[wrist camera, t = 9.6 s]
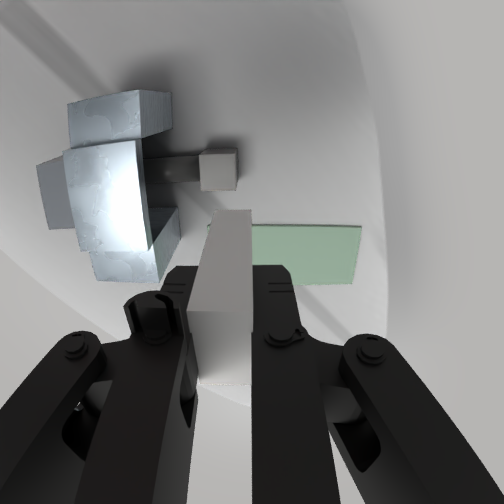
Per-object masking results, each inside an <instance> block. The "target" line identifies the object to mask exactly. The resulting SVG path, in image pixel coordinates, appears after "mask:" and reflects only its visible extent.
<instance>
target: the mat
mask: <svg viewBox="0 0 504 504" xmlns="http://www.w3.org/2000/svg"><path fill="white" fill-rule="evenodd" d="M207 228H208V232H209V228H210V225H208V226H207ZM361 229H362V228H361V226H317V225H252V265H283V266H284V267H285V268H286V269H287V270H288V271H289V272H290V274H291V279H292V284H293V285H331V284H352V281H353V276H354V270H355V265H356V259H357V254H358V248H359V242H360V235H361Z"/></svg>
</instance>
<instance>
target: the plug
mask: <svg viewBox="0 0 504 504" xmlns="http://www.w3.org/2000/svg"><path fill="white" fill-rule="evenodd" d="M143 167H144V178H145V184H154V183H169V182H189V181H200V182H201V191H232V190H236V187H237V182H238V168H237V148H224V149H205V150H204V151H203V152H202V153H201V154H199V155H197V156H180V157H166V158H154V159H143ZM36 168H37V174H38V180H39V186H40V191H41V196H42V201H43V206H44V210H45V215H46V219H47V223H48V227H49V230H51V229H68V228H75V225H74V220H73V215H72V210H71V205H70V200H69V194H68V188H67V182H66V175H65V168H64V161H63V155H62V156H59V157H57V158H54V159H52V160H49V161H47V162H44V163H42V164H39V165H37V166H36Z"/></svg>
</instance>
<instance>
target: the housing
mask: <svg viewBox="0 0 504 504" xmlns="http://www.w3.org/2000/svg"><path fill="white" fill-rule="evenodd" d="M67 105H68V123H69V135H70V146H71V149H68V150H65V151H62V153H63V161H64V168H65V175H66V182H67V188H68V194H69V200H70V205H71V210H72V215H73V220H74V225H75V229H76V234H77V238H78V242H79V246H80V250H81V251H89V254H90V258H91V262H92V265H93V269H94V273H95V276H96V280H97V281H112V282H140V283H160V281H161V279H162V276H163V274H164V272H165V270H166V268H167V266H168V264H169V262H170V260H171V258H172V256H173V253H174V251H175V249H176V247H177V245H178V243H179V241H180V239H181V235H180V225H179V215H178V207H165V208H148V205H147V197H146V187H145V178H144V167H143V155H142V142H141V138H144V137H147V136H150V135H153V134H156V133H159V132H163V131H166V130H169V129H172V128H173V127H172V96H171V93H166V92H158V91H150V90H140V89H138V90H132V91H126V92H120V93H115V94H110V95H105V96H100V97H95V98H91V99H86V100H82V101H78V102H74V103H70V104H67Z"/></svg>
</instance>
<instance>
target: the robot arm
mask: <svg viewBox="0 0 504 504" xmlns="http://www.w3.org/2000/svg"><path fill="white" fill-rule="evenodd" d="M123 307H124V311H125V314H126V317H127V321H128V324H129V327H130V330H131V333H132V334H131V336H130V338H129V339H126V340H122V341H117V342H111V343H105V344H101V343H100V341H99V339H98V337H97V336H96V335H95V334H93V333H91V332H88V331H78V332H73V333H70V334H68V335H66V336H64V337H63V338H62V339H61V340H60V341H58V342H57V344H56V345H55V346H54V347H53V348H52V349H51V350H50V351H49V352H48V353H47V355H46V356H45V357H44V358H43V359H42V360H41V361H40V362H39V364H38V365H37V366H36V367H35V368H34V369H33V370H32V372H31V373H30V374H29V375H28V376H27V377H26V379H25V380H24V381H23V382H22V384H21V385H20V386H19V387H18V388H17V389H16V391H15V392H14V393H13V394H12V396H11V397H10V398H9V399H8V400H7V402H6V403H5V404H4V405H3V407H2V408H1V409H0V504H186V502H187V492H188V482H189V473H190V463H191V455H192V446H193V437H194V429H195V421H196V413H197V405H198V395H197V390H196V384H197V378H199V382H200V384H207V385H251V405H252V504H341V503H340V495H339V489H338V483H337V477H336V471H335V465H334V459H333V453H332V447H331V442H330V436H329V432H330V434H331V436H332V438H333V440H334V442H335V444H336V446H337V448H338V450H339V452H340V454H341V456H342V458H343V460H344V462H345V464H346V466H347V468H348V470H349V472H350V474H351V476H352V478H353V480H354V482H355V484H356V486H357V488H358V490H359V492H360V494H361V496H362V498H363V500H364V502H365V504H504V495H503V494H502V492H501V491H500V489H499V487H498V486H497V484H496V483H495V481H494V480H493V478H492V477H491V475H490V474H489V472H488V471H487V469H486V468H485V466H484V465H483V463H482V462H481V460H480V459H479V458H478V456H477V455H476V453H475V452H474V450H473V449H472V448H471V446H470V445H469V443H468V442H467V441H466V439H465V438H464V436H463V435H462V434H461V432H460V431H459V429H458V428H457V427H456V425H455V424H454V423H453V421H452V420H451V419H450V417H449V416H448V414H447V413H446V412H445V411H444V409H443V408H442V406H441V405H440V404H439V402H438V401H437V400H436V399H435V397H434V396H433V395H432V393H431V392H430V391H429V389H428V388H427V387H426V385H425V384H424V383H423V382H422V380H421V379H420V378H419V377H418V375H417V374H416V373H415V371H414V370H413V369H412V368H411V367H410V365H409V364H408V363H407V361H406V360H405V359H404V358H403V357H402V355H401V354H400V353H399V351H398V350H397V349H396V348H395V346H394V345H392V344H391V343H390V342H389V341H388V340H387V339H385V338H382V337H380V336H378V335H373V334H360V335H356V336H354V337H352V338H350V339H349V340H348V341H347V342H346V343H345V344H344V346H340V345H334V344H329V343H325V342H321V341H319V340H316V339H314V338H312V337H311V336H310V335H309V334H308V332H307V330H306V329H305V328H304V327H303V326H302V325H301V321H300V316H299V312H298V307H297V302H296V297H295V293H294V288H293V284H292V279H291V274H290V272H289V271H288V270H287V269H286V268H285V267H284V266H283V265H252V219H251V210H215V212H214V215H213V218H212V222H211V225H210V228H209V232H208V235H207V239H206V242H205V245H204V249H203V252H202V256H201V259H200V263H199V266H176V267H175V268H174V269H172V270H171V271H170V272H169V273H168V274H167V276H166V278H165V280H164V283H163V285H162V288H161V290H160V291H158V290H156V291H146V292H143V293H140V294H137V295H135V296H134V297H132V298H131V299H129V300H128V301H127V302H126V303H125V305H124V306H123ZM79 402H80V404H79V405H78V403H79ZM77 405H78V406H77ZM76 406H77V407H76ZM328 430H329V431H328Z"/></svg>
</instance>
